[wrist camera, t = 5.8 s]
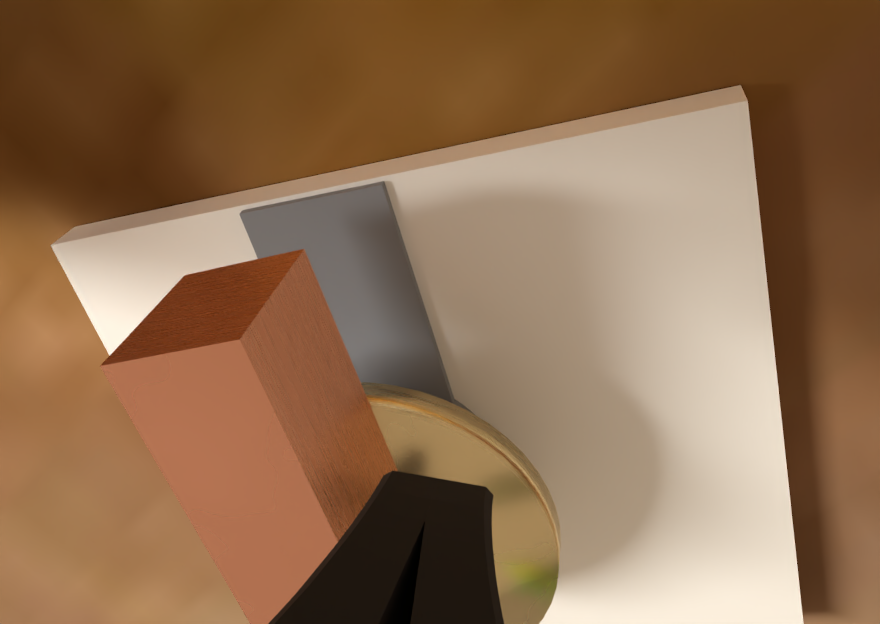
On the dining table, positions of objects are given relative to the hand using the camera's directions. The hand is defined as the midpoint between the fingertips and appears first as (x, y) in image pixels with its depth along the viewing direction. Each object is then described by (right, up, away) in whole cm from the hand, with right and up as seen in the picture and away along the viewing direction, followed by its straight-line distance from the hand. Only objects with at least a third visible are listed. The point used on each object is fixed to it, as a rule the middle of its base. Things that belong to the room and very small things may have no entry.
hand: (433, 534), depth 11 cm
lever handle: (-2, 0, +7) cm, 7 cm away
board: (0, 0, +10) cm, 10 cm away
